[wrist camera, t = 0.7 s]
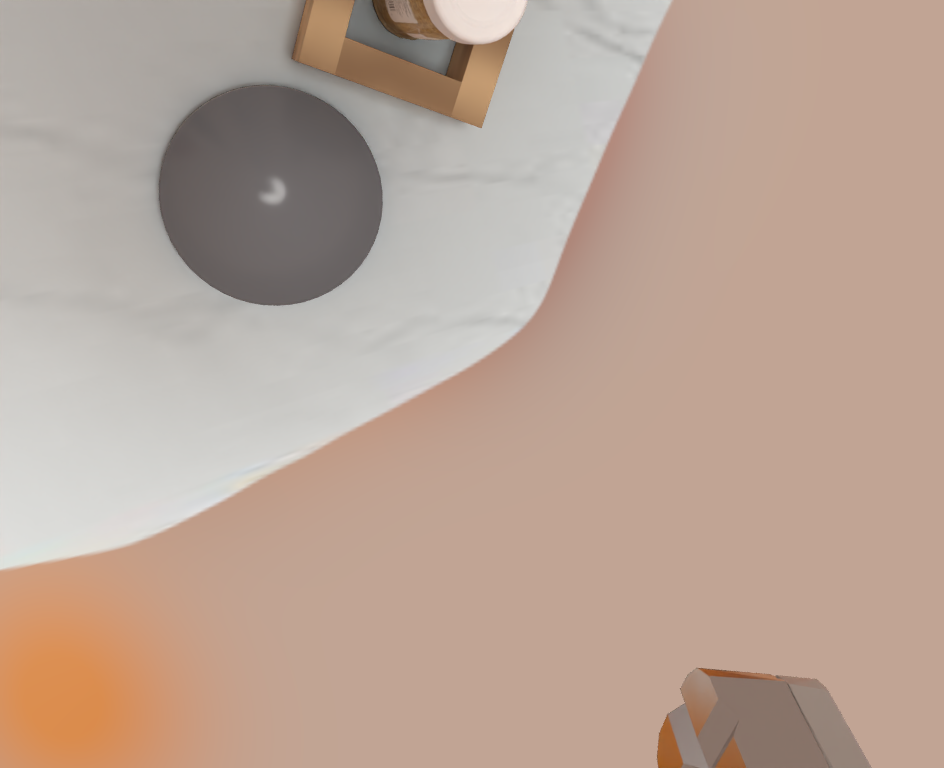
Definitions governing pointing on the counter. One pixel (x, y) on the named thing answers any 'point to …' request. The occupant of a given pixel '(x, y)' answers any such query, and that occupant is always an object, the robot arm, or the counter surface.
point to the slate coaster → (270, 195)
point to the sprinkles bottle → (451, 19)
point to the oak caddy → (400, 65)
